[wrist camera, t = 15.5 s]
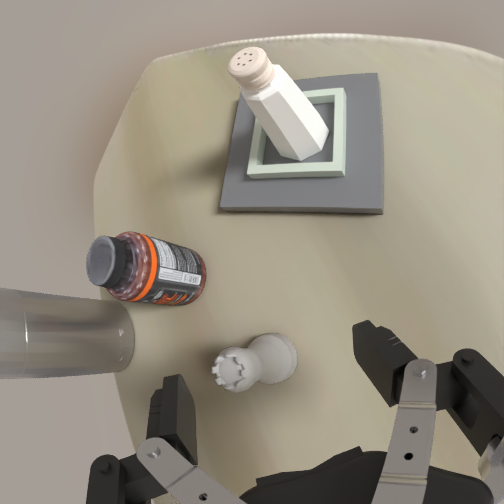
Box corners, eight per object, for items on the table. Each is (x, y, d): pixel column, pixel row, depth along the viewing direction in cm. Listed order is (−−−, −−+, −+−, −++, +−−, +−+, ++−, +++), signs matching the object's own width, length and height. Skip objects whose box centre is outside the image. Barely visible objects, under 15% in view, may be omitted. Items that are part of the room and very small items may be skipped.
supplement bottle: (170, 311, 33) (81, 306, 23) (161, 259, 34) (77, 239, 24) (214, 296, 30) (124, 286, 20) (203, 240, 32) (117, 210, 22)
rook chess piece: (243, 349, 28) (189, 358, 21) (281, 322, 27) (234, 325, 20) (268, 390, 26) (219, 414, 19) (309, 365, 25) (270, 385, 18)
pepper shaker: (275, 117, 29) (214, 46, 19) (328, 108, 26) (283, 24, 17) (273, 165, 28) (204, 99, 18) (331, 158, 26) (282, 78, 16)
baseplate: (227, 211, 31) (212, 203, 29) (247, 96, 33) (235, 83, 31) (383, 214, 24) (380, 203, 22) (379, 82, 26) (375, 65, 24)
